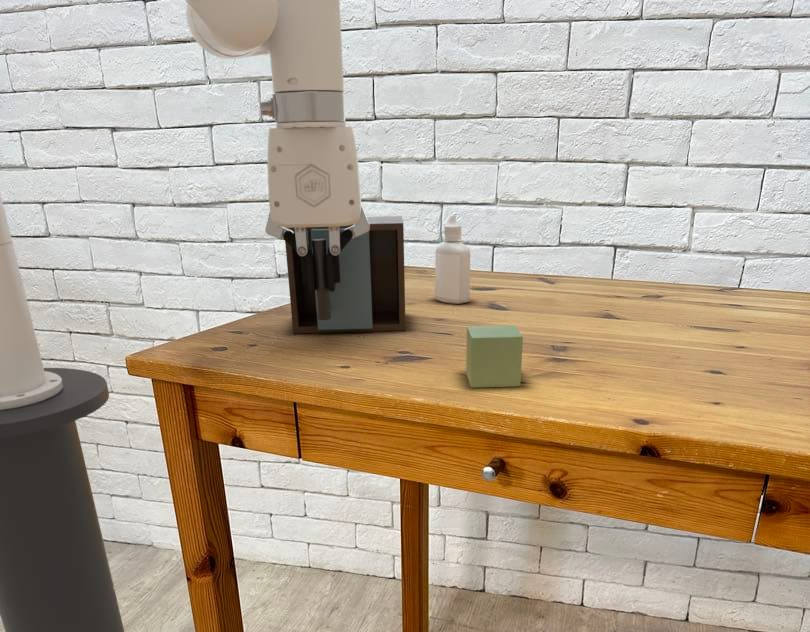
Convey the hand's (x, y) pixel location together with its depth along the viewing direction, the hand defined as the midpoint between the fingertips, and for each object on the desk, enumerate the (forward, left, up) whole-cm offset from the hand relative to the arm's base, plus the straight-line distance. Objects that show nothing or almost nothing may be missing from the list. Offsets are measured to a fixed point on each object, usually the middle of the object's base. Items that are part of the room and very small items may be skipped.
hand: (322, 288), depth 91 cm
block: (+13, -22, -7) cm, 26 cm away
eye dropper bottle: (+23, +19, -7) cm, 31 cm away
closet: (+5, +9, -7) cm, 13 cm away
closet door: (+3, +2, -6) cm, 7 cm away
